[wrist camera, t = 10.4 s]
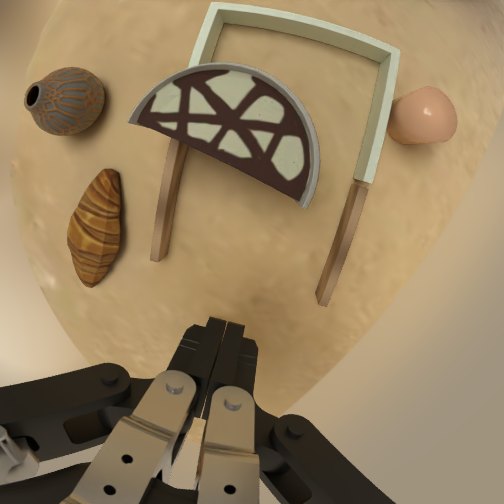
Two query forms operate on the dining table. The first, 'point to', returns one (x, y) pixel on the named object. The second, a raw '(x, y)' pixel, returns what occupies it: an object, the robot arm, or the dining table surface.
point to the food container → (238, 123)
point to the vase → (65, 101)
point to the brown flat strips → (168, 206)
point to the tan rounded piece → (422, 117)
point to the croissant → (96, 228)
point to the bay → (321, 33)
